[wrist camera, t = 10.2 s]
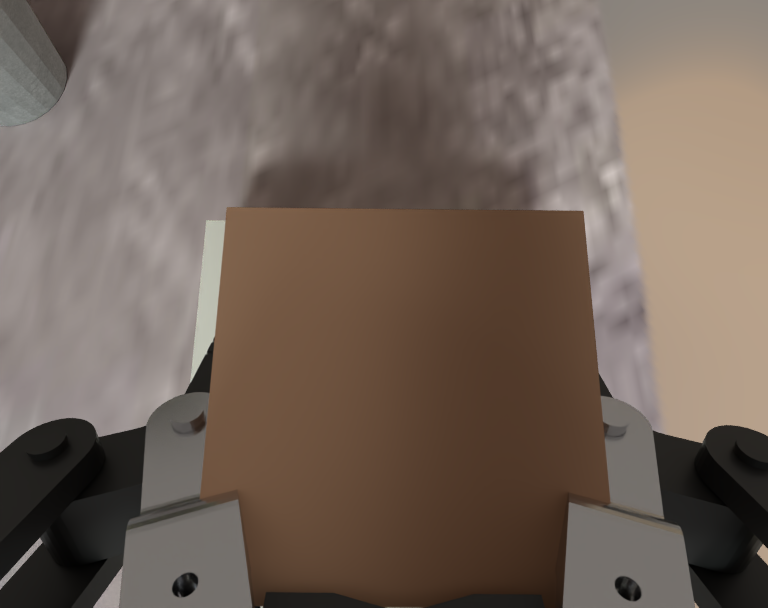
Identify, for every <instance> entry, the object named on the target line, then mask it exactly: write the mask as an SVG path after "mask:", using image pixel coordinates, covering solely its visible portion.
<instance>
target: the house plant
mask: <svg viewBox="0 0 768 608" xmlns="http://www.w3.org/2000/svg"><path fill="white" fill-rule="evenodd" d="M66 80H67V73H66V66H65V64H64V63H63V61H62V59H61V57H60V56H59V54H58V52H57V51H56V49H55V47H54V46H53V44H52V42H51V41H50V39H49V37H48V36H47V34H46V32H45V31H44V29H43V27H42V25H41V24H40V22H39V20H38V19H37V17H36V15H35V14H34V12H33V10H32V9H31V7H30V5H29V4H28V2H27V0H0V126H15V125H21V124H25V123H27V122H30V121H33V120H35V119H37V118H39V117H40V116H42V115H43V114H45V113H46V112H48V111H49V110H50V109H51V108H52V107H53V106H54V105H55V104H56V102H57V101H58V100H59V98H60V96H61V94H62V93H63V91H64V88H65V84H66Z"/></svg>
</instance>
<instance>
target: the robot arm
mask: <svg viewBox="0 0 768 608" xmlns="http://www.w3.org/2000/svg"><path fill="white" fill-rule="evenodd" d="M214 340H215V337H214V339H213V342H211V344H210V346H209V348H208V350H207V354H205V356H204V358H203V360H202V362H201V364H200V366H199V368H198V370H197V371H196V373H195V375H194V377H193V379H192V381H191V383H190V385H189V387H188V389H187V391H186V393H185V394H184V395H180V396H178V397H175V398H173V399H171V400H169V401H167V402H165V403H164V404H162V405H161V406H160V407H158V408H157V409H156V410H155V411H154V412H153V413H152V415H151V416H150V418H149V420H148V422H147V426H144V427H141V428H137V429H133V430H129V431H124V432H120V433H115V434H111V435H107V436H102V437H98V435H97V433H96V430H95V428H94V426H93V425H92V424H91V423H89V422H87V421H85V420H82V419H76V418H66V419H59V420H54V421H51V422H48V423H44V424H42V425H40V426H37V427H35V428H33V429H31V430H29V431H28V432H26V433H24V434H23V435H21V436H20V437H19V438H17V439H16V440H15V441H14V442H12V443H11V444H10V445H9V446H8V447H7V448H5V449H4V450H3V451H2V452H1V453H0V580H1V579H2V578H3V577H4V576H5V575H6V574H7V573H8V572H9V571H10V569H11V568H12V567H13V566H14V565H15V564H16V563H17V562H18V561H19V560H20V558H21V557H22V556H23V555H24V554H25V553H26V552H27V551H28V550H29V549H30V548H31V546H32V545H33V544H34V543H35V542H36V541H37V540H38V539H39V538H41V540H42V542H43V543H42V544H41V545H40V546H39V547H38V548H37V550H36V551H35V552H34V553H33V554H32V555H31V556H30V557H29V558H28V560H27V561H26V562H25V563H24V564H23V565H22V566H21V567H20V568H19V570H18V571H17V572H16V573H15V574H14V575H13V576H12V577H11V578H10V580H9V581H8V582H7V583H6V584H5V585H4V586H3V587H2V588H1V590H0V608H93V606H94V605H95V604H96V602H97V601H98V599H99V598H100V597H101V595H102V594H103V592H104V591H105V590H106V588H107V587H108V586H109V584H110V583H111V581H112V580H113V579H114V577H115V576H116V574H117V573H118V572H119V570H120V569H121V567H122V566H123V570H122V581H121V592H120V603H119V608H385V607H381V606H378V605H374V604H371V603H367V602H364V601H360V600H357V599H353V598H350V597H347V596H343V595H340V594H336V593H300V592H266V595H265V600H264V605H263V606H255V602H254V595H253V587H252V579H251V565H250V559H249V553H248V548H247V542H246V536H245V530H244V524H243V518H242V513H241V507H240V501H239V495H238V489H237V490H233V491H229V492H225V493H221V494H217V495H213V496H209V497H206V498H202V499H200V491H201V480H202V470H203V459H204V448H205V437H206V426H207V416H208V405H209V394H210V383H211V373H212V362H213V351H214ZM599 384H600V394H601V405H602V416H603V426H604V437H605V448H606V459H607V469H608V480H609V491H610V501H611V504H609V503H606V502H602V501H599V500H596V499H592V498H588V497H584V496H581V495H577V494H573V493H569V492H568V496H567V502H566V508H565V514H564V520H563V526H562V532H561V537H560V543H559V549H558V555H557V561H556V567H555V573H556V601H555V608H695V604H694V601H695V603H696V604H697V605H698V606H699V608H768V565H767V564H766V563H765V562H764V561H763V560H762V559H761V558H760V556H758V554H757V552H758V550H759V549H760V547H761V546H762V544H764V545H765V546H766V547H767V548H768V436H766V435H764V434H762V433H760V432H757V431H754V430H751V429H748V428H744V427H740V426H731V425H730V426H729V425H724V426H718V427H715V428H713V429H711V430H710V431H709V432H708V433H707V435H706V437H705V439H704V441H703V443H698V442H694V441H689V440H686V439H682V438H677V437H673V436H669V435H665V434H662V433H658V432H655V431H653V430H652V427H651V425H650V423H649V421H648V420H647V419H646V417H645V416H644V415H643V414H642V413H641V412H639V411H638V410H637V409H635V408H634V407H632V406H631V405H629V404H627V403H625V402H623V401H620V400H618V399H614V398H613V397H612V395H611V394H610V392H609V390H608V388H607V387H606V385H605V383H604V381H603V380H602V378H601V376H600V374H599ZM425 608H545V606H544V603H543V599H542V595H534V594H472V595H468V596H465V597H461V598H457V599H454V600H450V601H447V602H443V603H439V604H436V605H432V606H429V607H425Z"/></svg>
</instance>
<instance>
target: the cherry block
mask: <svg viewBox="0 0 768 608" xmlns="http://www.w3.org/2000/svg"><path fill="white" fill-rule="evenodd" d="M237 489H238V495H239V501H240V507H241V513H242V518H243V524H244V530H245V536H246V542H247V548H248V553H249V559H250V565H251V579H252V587H253V595H254V602H255V606H263V605H264V600H265V595H266V592H300V593H336V594H340V595H343V596H347V597H350V598H353V599H357V600H360V601H364V602H367V603H371V604H374V605H378V606H381V607H385V608H425V607H429V606H432V605H436V604H439V603H443V602H447V601H450V600H454V599H457V598H461V597H465V596H468V595H472V594H534V595H542V599H543V603H544V606H545V608H555V601H556V573H555V567H556V561H557V555H558V549H559V543H560V537H561V532H562V526H563V520H564V514H565V508H566V502H567V496H568V492H569V493H573V494H577V495H581V496H584V497H588V498H592V499H596V500H599V501H602V502H606V503H609V504H611V501H610V491H609V480H608V469H607V459H606V448H605V437H604V426H603V416H602V405H601V394H600V384H599V373H598V362H597V352H596V341H595V330H594V319H593V309H592V298H591V287H590V277H589V266H588V255H587V245H586V234H585V223H584V212H583V211H543V210H444V209H344V208H244V207H227V211H226V222H225V232H224V243H223V254H222V265H221V276H220V286H219V297H218V308H217V319H216V329H215V340H214V351H213V362H212V373H211V383H210V394H209V405H208V416H207V426H206V437H205V448H204V459H203V470H202V480H201V491H200V499H202V498H206V497H209V496H213V495H217V494H221V493H225V492H229V491H233V490H237Z"/></svg>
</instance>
